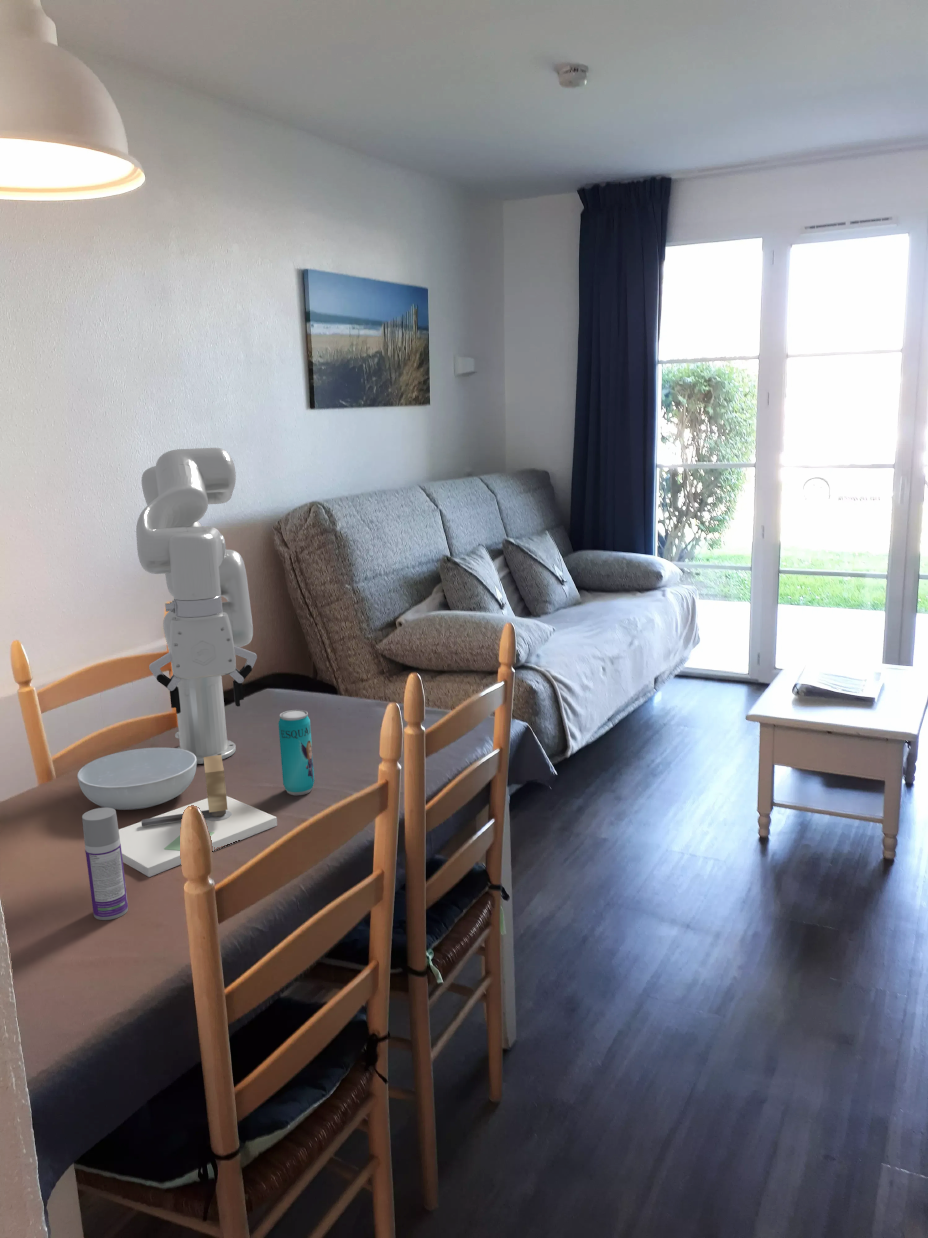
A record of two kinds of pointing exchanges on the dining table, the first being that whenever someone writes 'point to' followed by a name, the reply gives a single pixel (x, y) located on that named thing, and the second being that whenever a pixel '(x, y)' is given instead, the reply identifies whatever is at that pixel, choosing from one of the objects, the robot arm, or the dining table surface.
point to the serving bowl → (137, 777)
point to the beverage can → (296, 752)
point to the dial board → (161, 842)
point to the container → (105, 863)
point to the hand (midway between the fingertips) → (208, 707)
